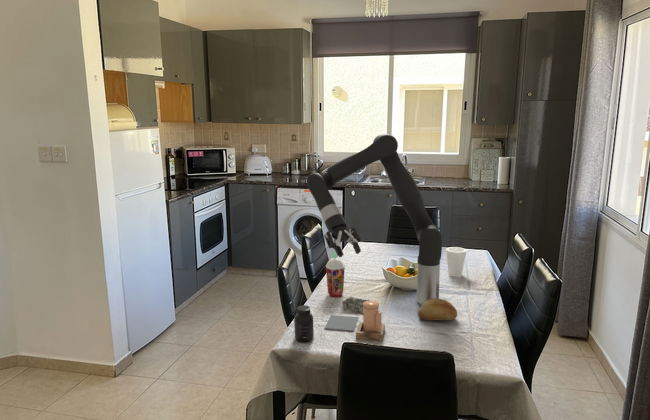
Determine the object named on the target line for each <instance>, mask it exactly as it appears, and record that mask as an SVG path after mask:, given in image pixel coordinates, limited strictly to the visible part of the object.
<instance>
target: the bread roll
mask: <svg viewBox="0 0 650 420" xmlns="http://www.w3.org/2000/svg"><path fill="white" fill-rule="evenodd" d="M417 315H418V317H419V318H420V319H421V320H423V321H424V320H425V321H453V320H455V319H456V318H457V317H458V312H457V308H456V307H455V306H454V305H453V304H452V303H451V302H450V301H447V300H446V299H442V298H439V299H430V300H427V301H426V302H424V303H423V304H421V306H420V308H419V309H418V312H417Z"/></svg>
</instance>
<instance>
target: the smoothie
mask: <svg viewBox="0 0 650 420" xmlns="http://www.w3.org/2000/svg"><path fill="white" fill-rule="evenodd" d="M333 253H334V257H332V258H330V259H329V260H328V262H327V263H326V265H325V271H326V272H325V273H326V285H327V286H326V287H327V294H328V296H329V297H330V298H335V299H336V298H341V297H342V296H343V295H344V294H343V293H344V286H345V284H344V283H345V267H346V265H345V264H344V262H343V261H342V259H340V257H337V253H336V251H335V252H334V251H333Z"/></svg>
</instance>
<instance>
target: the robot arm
mask: <svg viewBox="0 0 650 420" xmlns="http://www.w3.org/2000/svg"><path fill="white" fill-rule="evenodd" d="M398 148H399V144H398V140H397V139H396V137H394V135H391V134H390V133H389V134H388V133H382V134H378V135H377V136H376V137H375V138H374V139H373V140H372V143H371V144H370V145H369V146H367V147H365V148H364V149H362V150H360V151H359V152H357V153H355V154H352V155H350V156H347V157H345V158H342V160H339V161H337V162H336V163H334V164H332V165H331V166H329V167H327V169H326V172H325V173H324V174H320V173H319V172H312V173H310V174H309V175H307V177H306V180H305V181H306V186H307V189H308V190H309V192H310V194H311V195H312V197H313V199H314V201H315V203H316V206H317V209H318V210H319V214H320V215H321V218H322V221H323V222H324V223H323V224H324V225H325V227H326V229H327V232H325V233H324V234H323V235H324V236H323V237H324V239H325V241H326V244H327V246H328V248H329V249H333V250H334V251H335V252H336V256H338V258H342V257H343V256H344V253H343V250H342V248H341V246H340V243H342V242H347V243H348V244H350V245H352V247H353V249H354V252H355V254H356V255H359V254H360V253H361V252H362V250H361V247H360V245H359V243H360V242H361V237H360V235H359V234H358V232H357V230H356V229H355V227H352V228H351V229H350V228H349V229H348V227H347V222H346V220H345V218H344V215H343V214H342V211H341V209H340V208H339V206H338V205H337V202H336V201H335V199H334V197H333V196H332V194H331V193H330V191H329V190H331V188H333V187H334V186H335V185H336V184H338V183H339V182H341V181H342V180H343V181H344V179H346V178H348V177H349V176H351V175H353V174H355V173H357V172H358V171H360V170H362V169H363V168H365V167H367V166H369V165H371V164H373V163H375V162H378V161H380V163H381V164H382V166H383V168H384V170H385V172H386V174H387V177H388V179H389V182H390V185H391V187H392V189H393V192H394V193H395V195H396V198H397V200H398V202H399V203H400V205H401V207H402V208H403V210H404V211H405V212H406V214H407V216H408V218H410V221H411V223H412V225H413V228H414V231H415V233H416V237H417V240H418V241H419V242H418V244H419V245H418V246H419V247H418V256H417V269H416V270H417V272H416V274H417V275H416V302H417V303H418V304H420V305H422V304H423V303H424V302H426V301H427V300H430V299H440V273H441V272H440V271H441V270H440V269H441V268H440V267H441V258H442V254H443V251H442V250H443V236H442V233H441V231H440V230H439V228H437V226H436V225H435V224H434V222H433V221H432V219H431V217H430V216H429V214H428V212H427V210H426V206H425V203H424V199H423V197H422V194H421V191H420V189H419V187H418V185H417V183H416V181H415V179H414V178H413V176H412V175H411V173H410V171H409V170H408V169H407V168H406V166H405V165H404V163H403V162H402V160H401V158H400V156H399V154H398V151H397V150H398Z"/></svg>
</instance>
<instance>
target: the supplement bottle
mask: <svg viewBox="0 0 650 420" xmlns="http://www.w3.org/2000/svg"><path fill="white" fill-rule="evenodd" d="M293 321H294V322H293V324H294V339H295V341H296V342H298V343H301V344H307V343H311V342H312V341H313V340H314V338H315V337H314V335H315V334H314V333H315V332H314V315H313V314H311V307H310V306H309V305H305V304H304V305H303V304H302V305H299V306H296V314H295V315H294V317H293Z"/></svg>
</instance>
